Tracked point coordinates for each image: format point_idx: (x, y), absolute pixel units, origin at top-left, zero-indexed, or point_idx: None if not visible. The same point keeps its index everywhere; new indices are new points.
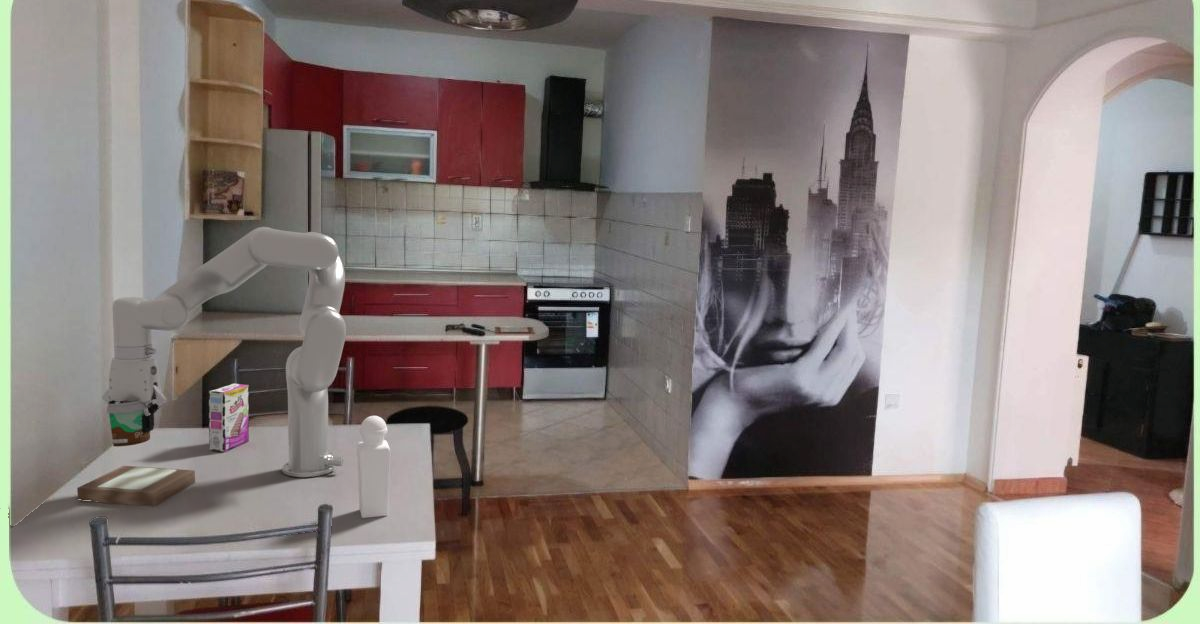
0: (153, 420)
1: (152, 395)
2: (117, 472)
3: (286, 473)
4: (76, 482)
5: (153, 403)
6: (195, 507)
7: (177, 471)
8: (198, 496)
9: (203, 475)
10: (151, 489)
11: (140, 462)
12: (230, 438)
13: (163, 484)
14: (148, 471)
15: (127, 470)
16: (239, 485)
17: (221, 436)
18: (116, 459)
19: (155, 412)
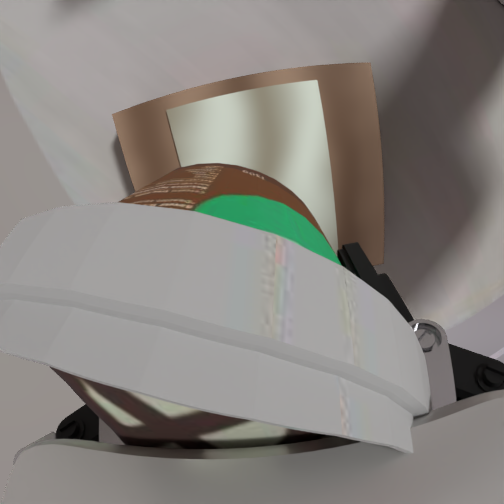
0: (399, 302)
1: (462, 463)
2: (151, 169)
3: (502, 2)
4: (67, 193)
5: (452, 399)
6: (449, 222)
7: (326, 86)
8: (427, 161)
9: (331, 6)
10: (362, 246)
11: (70, 11)
12: None
13: (368, 204)
14: (240, 126)
15: (161, 141)
16: (464, 69)
17: None
18: (13, 40)
19: (430, 324)
